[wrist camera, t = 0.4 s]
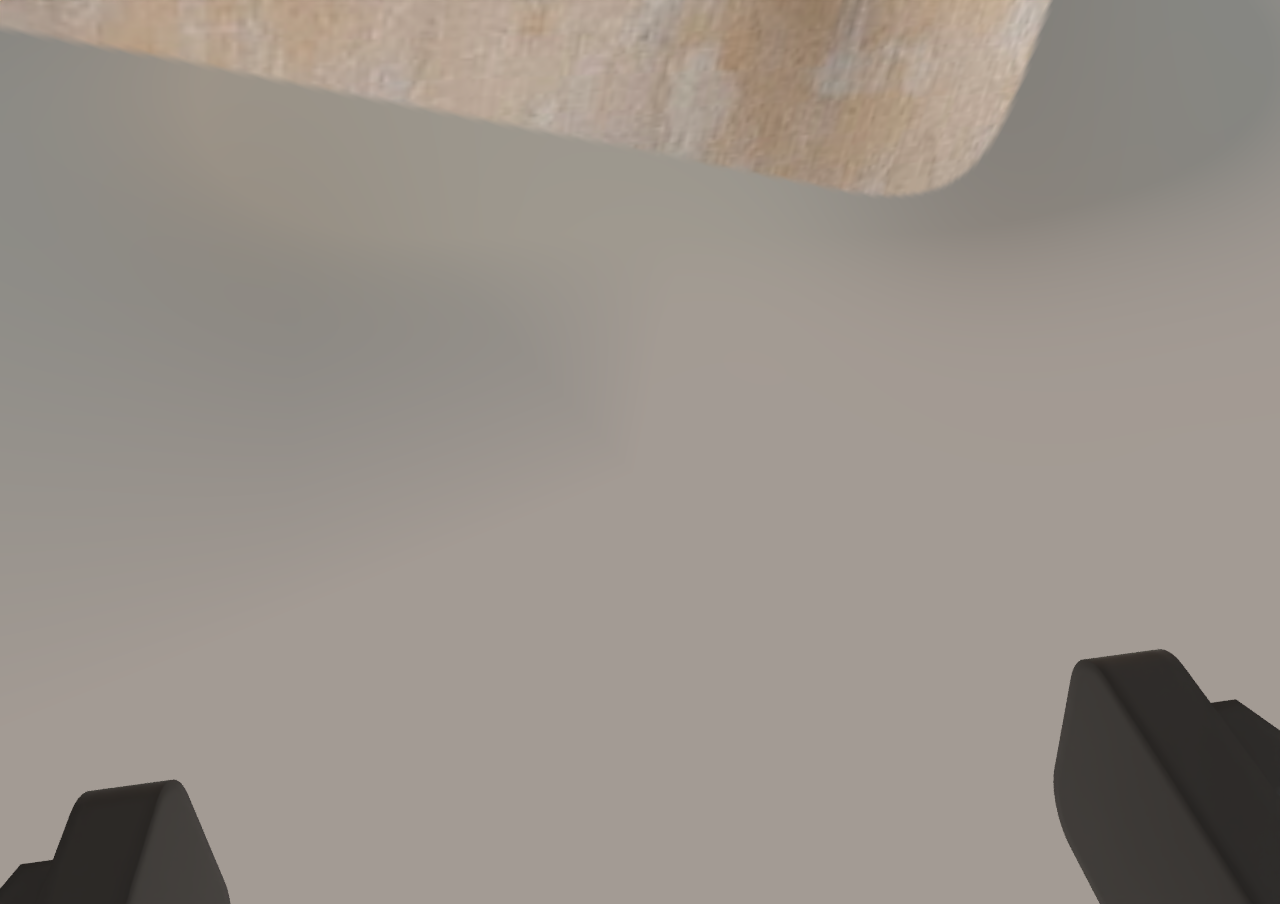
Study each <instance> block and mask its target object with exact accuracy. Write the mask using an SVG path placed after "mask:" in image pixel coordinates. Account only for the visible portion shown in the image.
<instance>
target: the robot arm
mask: <svg viewBox="0 0 1280 904" xmlns="http://www.w3.org/2000/svg"><path fill="white" fill-rule="evenodd" d="M1054 795H1055V802H1056V807H1057V812H1058V815H1059V819H1060V822H1061V826H1062V828H1063V831H1064V833H1065V836H1066V839H1067V841H1068V843H1069V845H1070V847H1071V849H1072V851H1073V853H1074V855H1075V857H1076V858H1077V861H1078V863H1079V864H1080V866H1081V868H1082V870H1083V872H1084V874H1085V876H1086V878H1087V880H1088V882H1089V883H1090V886H1091V888H1092V890H1093V891H1094V893H1095V895H1096V897H1097V899H1098V901H1099V903H1100V904H1280V730H1278V729H1277V728H1276V727H1274V726H1273V725H1271V724H1270V723H1268V722H1267V721H1266V720H1264V719H1263V718H1261V717H1260V716H1259V715H1257V714H1256V713H1254V712H1253V711H1252V710H1250V709H1249V708H1247V707H1246V706H1244V705H1243V704H1242V703H1240V702H1239V701H1237V700H1228V701H1222V702H1214V703H1210V701H1209V700H1208V699H1207V697H1206V696H1205V695H1204V693H1203V692H1202V691H1201V689H1200V688H1199V687H1198V685H1197V684H1196V683H1195V681H1194V680H1193V679H1192V677H1191V676H1190V674H1189V673H1188V672H1187V670H1186V669H1185V668H1184V666H1183V665H1182V664H1181V662H1180V661H1179V660H1178V659H1177V658H1176V657H1175V656H1174V655H1173V654H1171V653H1170V652H1168V651H1166V650H1162V649H1158V650H1151V651H1143V652H1136V653H1128V654H1121V655H1114V656H1107V657H1099V658H1092V659H1084V660H1080V661H1079V662H1078V663H1077V664H1076V665H1075V667H1074V669H1073V672H1072V676H1071V680H1070V686H1069V691H1068V697H1067V703H1066V708H1065V714H1064V719H1063V725H1062V730H1061V736H1060V741H1059V747H1058V752H1057V758H1056V764H1055V769H1054ZM0 904H230V898H229V894H228V890H227V887H226V884H225V882H224V879H223V877H222V874H221V872H220V870H219V867H218V865H217V863H216V860H215V858H214V856H213V853H212V851H211V848H210V846H209V844H208V841H207V839H206V837H205V834H204V832H203V829H202V827H201V824H200V822H199V820H198V817H197V815H196V813H195V810H194V808H193V805H192V804H191V801H190V798H189V796H188V794H187V792H186V790H185V788H184V787H183V785H182V784H181V783H180V782H179V781H177V780H168V781H160V782H153V783H145V784H138V785H131V786H123V787H116V788H108V789H102V790H94V791H88V792H85V793H84V794H82V795H81V797H80V798H78V800H77V802H76V803H75V805H74V807H73V809H72V811H71V813H70V816H69V819H68V821H67V824H66V827H65V830H64V832H63V835H62V838H61V840H60V842H59V845H58V848H57V850H56V853H55V856H54V859H53V860H49V861H42V862H35V863H28V864H21V865H20V866H19V867H18V868H17V870H16V871H15V872H14V873H13V875H11V877H10V878H9V879H8V880H7V881H6V883H5V884H4V885H3V886H2V887H1V888H0Z"/></svg>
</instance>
